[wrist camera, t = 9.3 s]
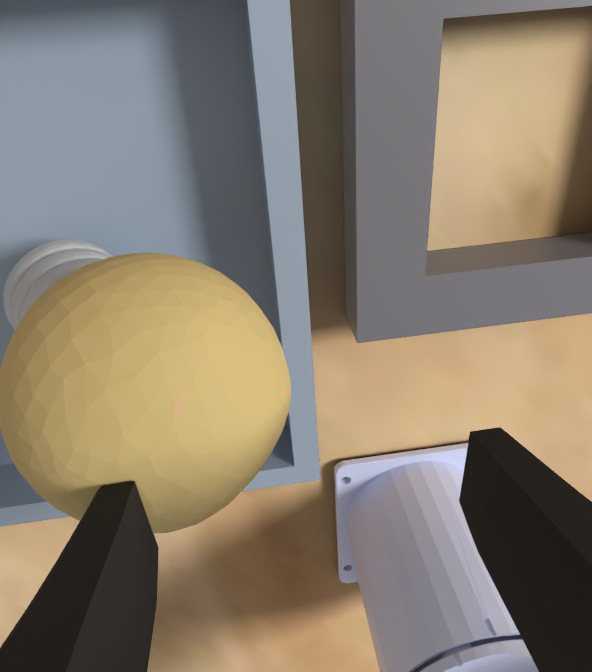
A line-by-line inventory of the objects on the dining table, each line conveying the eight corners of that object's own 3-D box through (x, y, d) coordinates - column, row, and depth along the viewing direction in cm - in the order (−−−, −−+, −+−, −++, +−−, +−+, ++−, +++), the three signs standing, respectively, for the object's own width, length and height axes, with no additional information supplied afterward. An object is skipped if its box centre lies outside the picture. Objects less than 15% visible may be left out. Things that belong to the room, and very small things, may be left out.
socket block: (639, 279, 21) (675, 302, 20) (346, 316, 21) (357, 343, 19) (763, -109, 15) (832, -125, 13) (338, -79, 14) (354, -91, 12)
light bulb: (72, 404, 19) (211, 615, 12) (-110, 311, 14) (-51, 570, 7) (187, 273, 20) (377, 402, 13) (49, 143, 15) (234, 240, 8)
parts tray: (309, 430, 24) (320, 479, 21) (-52, 480, 23) (-87, 538, 20) (273, -64, 14) (284, -82, 11) (-363, -17, 13) (-505, -26, 10)
